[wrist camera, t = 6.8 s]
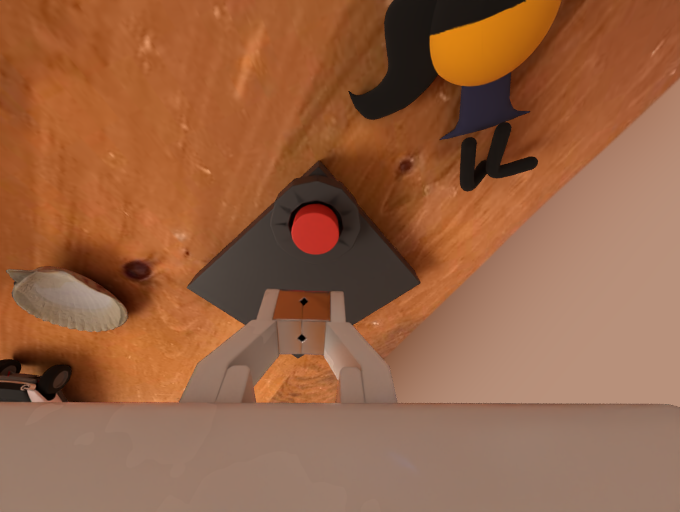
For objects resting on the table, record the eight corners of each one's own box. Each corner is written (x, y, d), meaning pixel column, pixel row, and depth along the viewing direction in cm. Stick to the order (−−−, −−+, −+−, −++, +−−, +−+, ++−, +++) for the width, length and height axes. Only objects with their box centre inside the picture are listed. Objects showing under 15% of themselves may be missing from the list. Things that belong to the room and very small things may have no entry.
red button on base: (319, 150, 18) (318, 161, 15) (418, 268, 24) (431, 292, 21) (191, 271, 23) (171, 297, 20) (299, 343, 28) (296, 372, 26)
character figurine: (520, 132, 19) (548, -125, 11) (547, 181, 16) (617, -124, 7) (388, 172, 23) (329, 10, 15) (389, 217, 20) (315, 47, 12)
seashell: (78, 304, 26) (148, 324, 26) (46, 329, 24) (122, 351, 23) (20, 242, 21) (107, 265, 20) (-28, 267, 19) (69, 294, 18)
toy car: (44, 410, 33) (0, 459, 29) (4, 353, 27) (-60, 404, 23) (95, 414, 34) (60, 462, 30) (68, 359, 28) (19, 410, 24)
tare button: (317, 193, 16) (316, 202, 15) (347, 225, 18) (348, 236, 16) (284, 222, 17) (281, 232, 16) (315, 250, 18) (314, 262, 17)
